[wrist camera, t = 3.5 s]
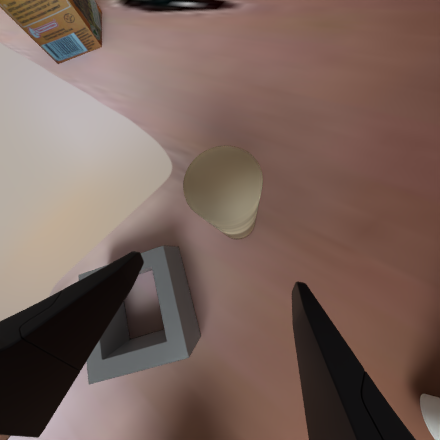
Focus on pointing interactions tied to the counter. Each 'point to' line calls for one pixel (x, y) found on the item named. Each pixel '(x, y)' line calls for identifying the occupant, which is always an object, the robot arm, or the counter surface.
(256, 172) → the birch peg
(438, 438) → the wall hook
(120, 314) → the frame
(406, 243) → the counter surface
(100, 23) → the milk carton
